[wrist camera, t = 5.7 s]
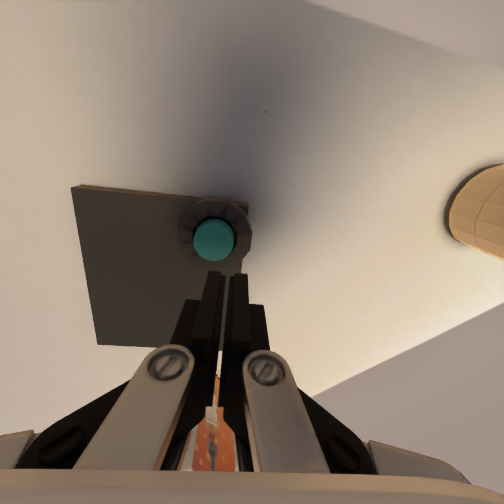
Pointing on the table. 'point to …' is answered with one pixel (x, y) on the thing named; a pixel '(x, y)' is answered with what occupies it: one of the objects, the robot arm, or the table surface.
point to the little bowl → (481, 213)
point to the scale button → (213, 239)
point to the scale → (150, 259)
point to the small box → (211, 442)
